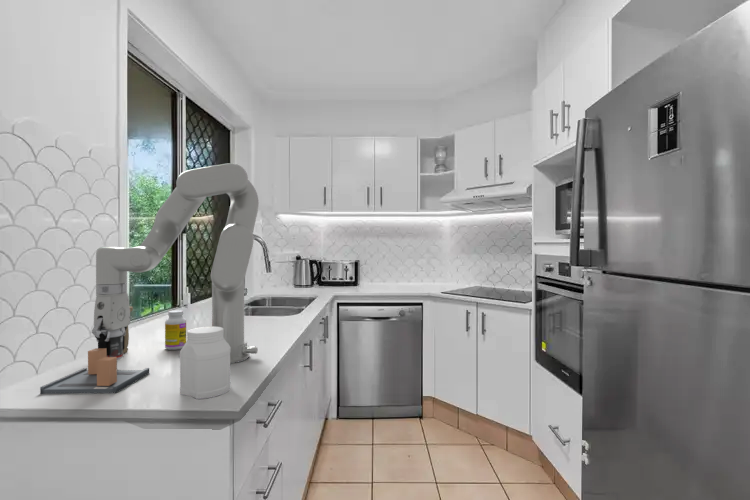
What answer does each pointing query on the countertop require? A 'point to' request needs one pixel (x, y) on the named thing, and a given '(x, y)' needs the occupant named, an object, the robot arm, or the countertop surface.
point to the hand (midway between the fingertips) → (111, 351)
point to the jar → (205, 363)
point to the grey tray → (92, 382)
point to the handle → (127, 336)
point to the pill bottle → (116, 343)
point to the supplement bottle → (175, 330)
